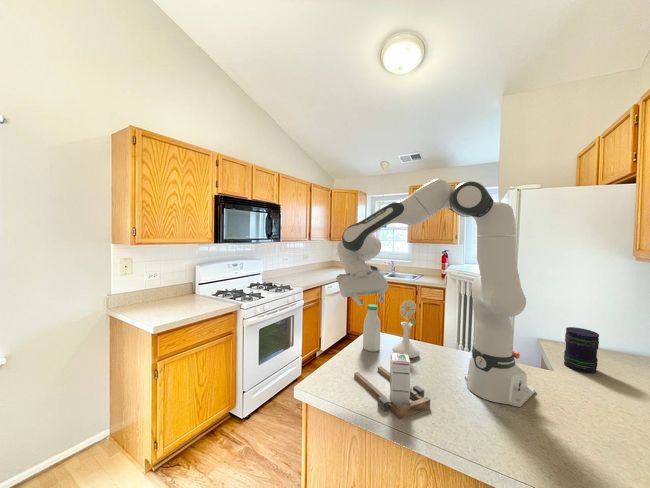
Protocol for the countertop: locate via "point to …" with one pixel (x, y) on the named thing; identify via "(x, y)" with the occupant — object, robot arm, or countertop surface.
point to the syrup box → (399, 379)
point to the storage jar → (581, 350)
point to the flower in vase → (407, 330)
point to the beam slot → (387, 404)
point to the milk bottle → (371, 329)
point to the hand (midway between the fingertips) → (372, 303)
